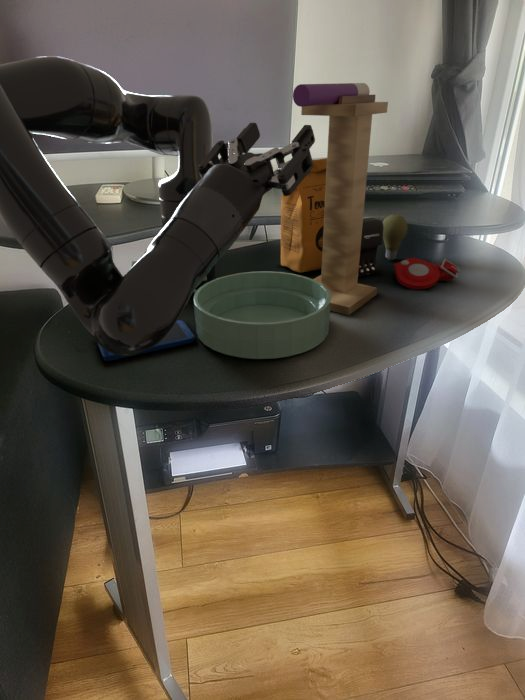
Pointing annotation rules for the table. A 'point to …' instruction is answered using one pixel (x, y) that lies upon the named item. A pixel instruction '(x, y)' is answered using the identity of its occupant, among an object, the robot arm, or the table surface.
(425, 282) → the tracker holder
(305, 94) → the glue stick
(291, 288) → the bowl
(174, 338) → the cell phone
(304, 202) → the coffee package
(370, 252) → the battery charger
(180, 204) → the robot arm
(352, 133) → the stand
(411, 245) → the table surface
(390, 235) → the light bulb
